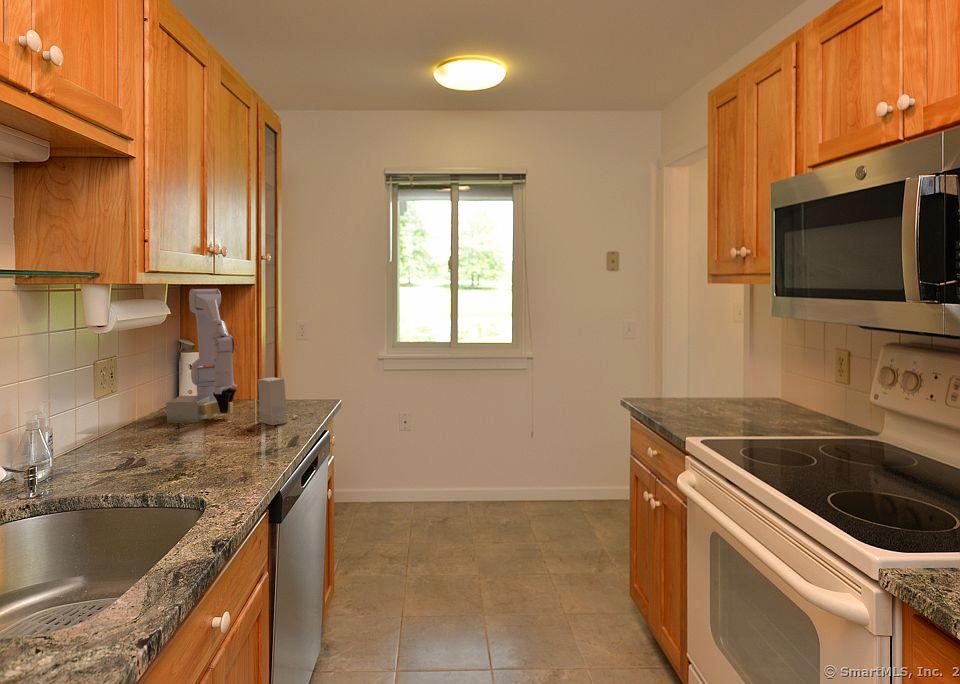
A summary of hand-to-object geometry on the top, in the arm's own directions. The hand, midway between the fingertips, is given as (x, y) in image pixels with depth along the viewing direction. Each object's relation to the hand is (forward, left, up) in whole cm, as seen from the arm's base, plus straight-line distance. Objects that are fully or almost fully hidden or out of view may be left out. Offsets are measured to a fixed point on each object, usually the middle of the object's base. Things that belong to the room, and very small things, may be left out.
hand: (225, 411), depth 224 cm
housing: (0, -12, -2) cm, 12 cm away
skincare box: (+8, +18, -3) cm, 20 cm away
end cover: (0, -6, -2) cm, 6 cm away
